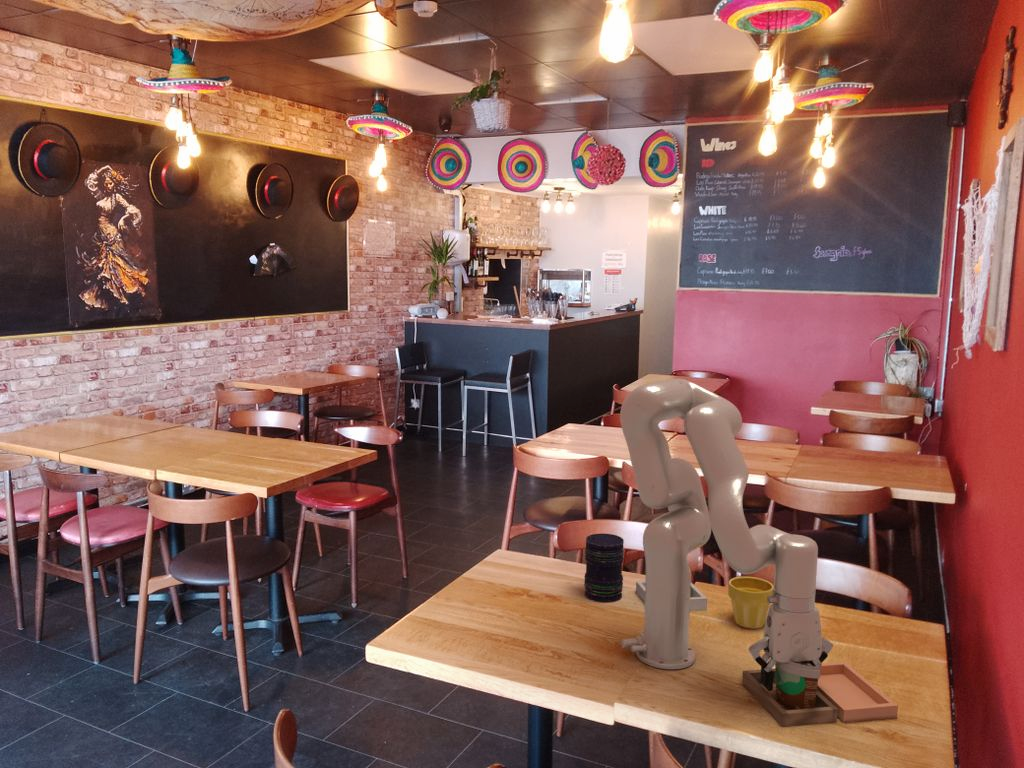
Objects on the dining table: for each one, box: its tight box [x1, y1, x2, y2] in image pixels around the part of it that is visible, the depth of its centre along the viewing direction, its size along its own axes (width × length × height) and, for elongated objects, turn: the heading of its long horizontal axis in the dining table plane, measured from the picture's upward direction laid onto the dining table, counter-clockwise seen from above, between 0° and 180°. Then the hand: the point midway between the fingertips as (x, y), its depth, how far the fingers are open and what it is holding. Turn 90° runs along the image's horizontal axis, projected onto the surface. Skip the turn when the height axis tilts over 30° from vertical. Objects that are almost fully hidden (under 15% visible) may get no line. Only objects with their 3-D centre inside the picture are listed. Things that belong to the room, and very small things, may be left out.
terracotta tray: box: [817, 661, 899, 724], centre depth 153 cm, size 11×17×2 cm, turn 10°
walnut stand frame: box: [741, 667, 838, 728], centre depth 151 cm, size 11×16×2 cm
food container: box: [774, 661, 820, 710], centre depth 150 cm, size 12×6×10 cm, turn 5°
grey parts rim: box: [635, 580, 708, 612], centre depth 198 cm, size 14×13×3 cm
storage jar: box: [583, 533, 625, 604], centre depth 200 cm, size 10×10×15 cm
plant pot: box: [727, 576, 774, 630], centre depth 185 cm, size 10×10×10 cm
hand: (788, 685), depth 151 cm, fingers open, 8 cm apart
